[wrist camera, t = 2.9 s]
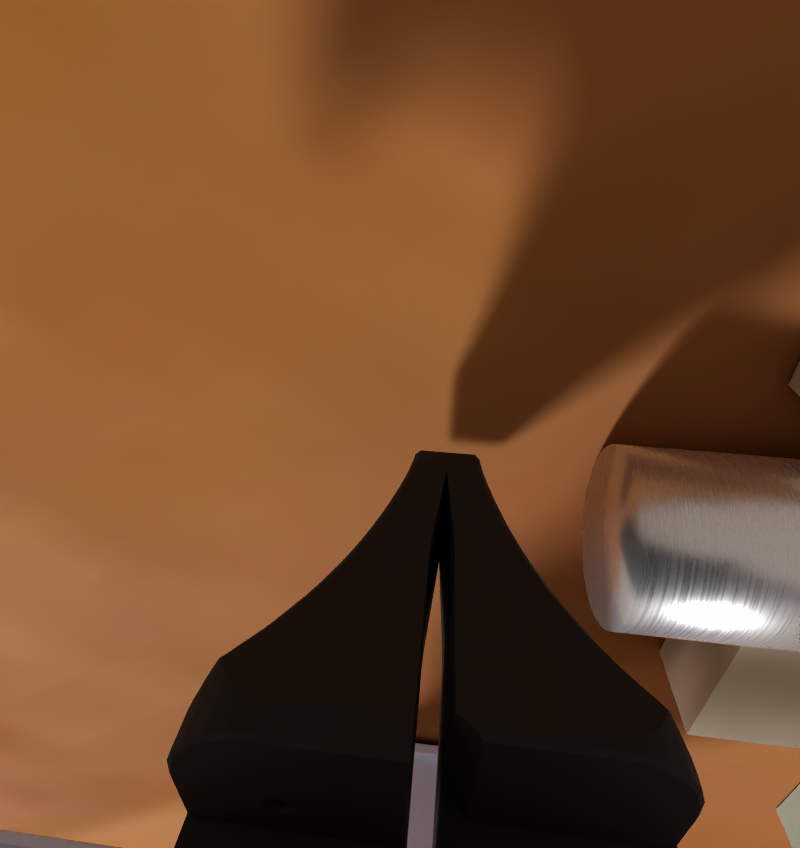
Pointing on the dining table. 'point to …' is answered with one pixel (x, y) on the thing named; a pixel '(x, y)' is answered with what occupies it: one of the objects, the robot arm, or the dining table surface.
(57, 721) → the dining table surface
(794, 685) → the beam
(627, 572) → the axle
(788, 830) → the v block
